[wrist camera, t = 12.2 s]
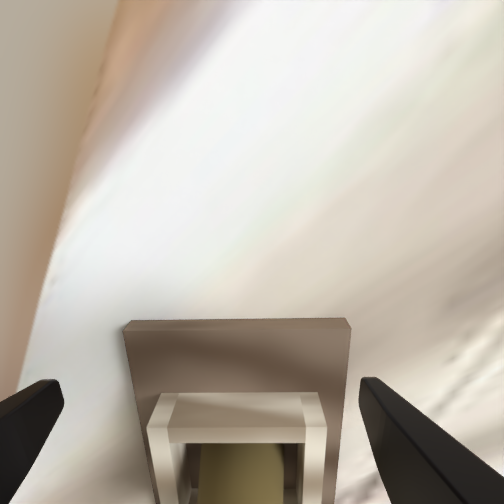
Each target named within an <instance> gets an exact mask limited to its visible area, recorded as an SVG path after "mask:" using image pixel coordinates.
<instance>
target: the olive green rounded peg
mask: <svg viewBox="0 0 504 504" xmlns="http://www.w3.org/2000/svg"><path fill="white" fill-rule="evenodd" d="M283 486H284V444H283V443H202V444H201V455H200V470H199V484H198V498H197V504H283Z"/></svg>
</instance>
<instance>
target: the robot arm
mask: <svg viewBox="0 0 504 504" xmlns="http://www.w3.org/2000/svg"><path fill="white" fill-rule="evenodd" d="M63 407H64V398H63V394H62V391H61V388H60V384H59V382H58V381H57V380H55V379H43V380H40V381H38V382H36V383H34V384H32V385H30V386H29V387H27V388H25V389H23V390H21V391H19V392H18V393H16V394H14V395H12V396H10V397H8V398H7V399H5V400H3V401H1V402H0V504H9V502H10V501H11V499H12V498H13V496H14V494H15V493H16V491H17V490H18V488H19V487H20V485H21V483H22V482H23V480H24V479H25V477H26V475H27V474H28V472H29V471H30V469H31V467H32V465H33V464H34V462H35V460H36V458H37V456H38V455H39V453H40V451H41V449H42V447H43V445H44V443H45V441H46V440H47V438H48V436H49V434H50V432H51V430H52V428H53V427H54V425H55V423H56V421H57V419H58V417H59V415H60V413H61V412H62V409H63ZM359 408H360V411H361V415H362V418H363V421H364V425H365V428H366V432H367V435H368V438H369V442H370V445H371V448H372V452H373V455H374V459H375V462H376V465H377V468H378V471H379V473H380V476H381V479H382V481H383V484H384V486H385V489H386V491H387V494H388V496H389V499H390V501H391V504H504V477H503V476H502V475H500V474H499V473H498V472H497V471H495V470H494V469H493V468H491V467H490V466H489V465H488V464H486V463H485V462H484V461H483V460H481V459H480V458H479V457H478V456H476V455H475V454H474V453H472V452H471V451H470V450H469V449H467V448H466V447H465V446H464V445H462V444H461V443H460V442H458V441H457V440H456V439H455V438H453V437H452V436H451V435H450V434H448V433H447V432H446V431H444V430H443V429H442V428H441V427H439V426H438V425H437V424H436V423H434V422H433V421H432V420H431V419H429V418H428V417H427V416H425V415H424V414H423V413H422V412H420V411H419V410H418V409H417V408H415V407H414V406H413V405H411V404H410V403H409V402H408V401H406V400H405V399H404V398H403V397H401V396H400V395H399V394H398V393H396V392H395V391H394V390H392V389H391V388H390V387H389V386H387V385H386V384H385V383H384V382H382V381H381V380H380V379H378V378H377V377H363V378H362V379H361V382H360V391H359Z"/></svg>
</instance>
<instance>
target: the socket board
mask: <svg viewBox="0 0 504 504" xmlns="http://www.w3.org/2000/svg"><path fill="white" fill-rule="evenodd" d="M123 335H124V341H125V346H126V351H127V356H128V361H129V367H130V372H131V377H132V382H133V387H134V392H135V398H136V403H137V408H138V413H139V418H140V424H141V429H142V434H143V439H144V444H145V449H146V455H147V460H148V465H149V470H150V475H151V481H152V486H153V491H154V496H155V501H156V504H197V498H198V484H199V470H200V455H201V444H202V443H283V444H284V486H283V504H334V499H335V489H336V479H337V469H338V459H339V449H340V439H341V429H342V418H343V408H344V398H345V388H346V378H347V368H348V358H349V348H350V338H351V327H350V325H349V324H348V322H347V320H346V319H345V318H298V319H215V320H131V322H130V323H129V324H128V325H127V326H126V328H125V329H124V330H123Z"/></svg>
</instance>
